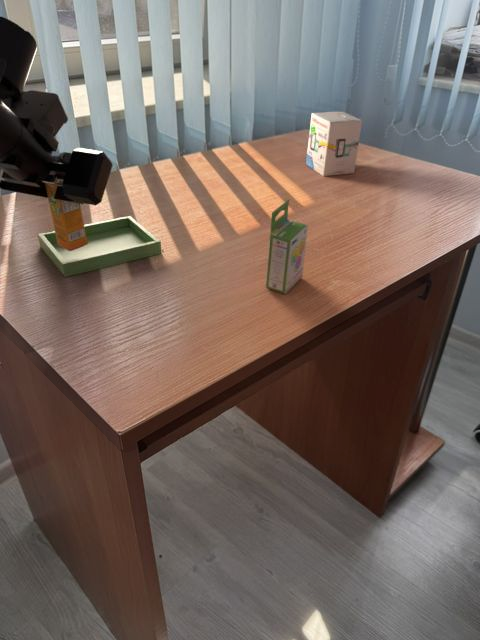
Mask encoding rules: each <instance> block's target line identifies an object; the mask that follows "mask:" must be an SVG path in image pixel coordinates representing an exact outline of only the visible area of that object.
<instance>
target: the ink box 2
mask: <svg viewBox="0 0 480 640" xmlns="http://www.w3.org/2000/svg"><path fill="white" fill-rule="evenodd" d="M362 125H363V120H362V119H360V118H358V117H356V116H354V115H352V114H349V113H347V112H345V111H342V110H341V111H326V112H311V115H310V126H309V134H308V141H307V142H308V143H307V151H306V161H305V165H306V166H308V167H309V168H311V169H312V170H313V171H314V172H316V173H318V174H319V175H321V176H322V177H328V176H339V175H347V174H348V175H349V174H354V173H355V168H356V163H357V156H358V151H359V143H360V137H361V133H362V132H361V131H362Z"/></svg>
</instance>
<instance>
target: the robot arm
mask: <svg viewBox="0 0 480 640" xmlns="http://www.w3.org/2000/svg"><path fill="white" fill-rule="evenodd" d="M37 50H38V43H37V41H36V39H35V37H34V36H33V34H31V33H30V31H28V30H25V29H24V28H23V27H21V26H20V25H19V24H17V23H16V22H14V21H12V20H10V19H9V18H6V17H4V16H1V15H0V190H3V191H8V192H13V193H19V194H25V195H31V196H36V197H40V198H46V199H48V195H47V191H46V186H45V182H46V183H51V184H56V183H57V185H58V186H57V189H56V192H55V195H54V199H57V200H62V201H68V202H73V203H78V204H80V205H84V204H85V205H91V206H97V205H99V204H101V203H102V201H103V198H104V195H105V191H106V188H107V185H108V182H109V179H110V176H111V173H112V168H113V165H114V164H113V162H112V161H111V159H110V158H109V156H108V155H107V154H106V153H105V151H103V150H102V151H101V150H96V149H89V148H83V147H77V148H75V149H73V150H72V151H71V152H67V151H63V152H61V153H59V154H58V155H53V152H57V150H58V147H59V144H60V142H59V141H58V140H57V139H56V138H55V137H56V136H57V134H58V133H59V131H60V130H61V129H62V128H63V126H64V124H65V125H66V124H67V122H68V121H69V117H68V114H67V112H66V110H65V108H64V106H63V104H62V101H61V98H60V97H59V95H58V94H57V93H55V92H50V91H49V92H47V91H42V90H41V91H40V90H33V89H31V90H27V91H25V90H24V89H25V86H26V83H27V80H28V77H29V74H30V71H31V68H32V65H33V62H34V59H35V56H36V53H37ZM57 181H58V182H57Z"/></svg>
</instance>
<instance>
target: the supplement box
mask: <svg viewBox="0 0 480 640" xmlns="http://www.w3.org/2000/svg"><path fill="white" fill-rule="evenodd" d="M57 182H58V181H57ZM45 186H46V191H47V195H48V198H47V200H48V201H47V202H48V205H49V209H50V210H49V211H50V214H51V219H52V224H53V228H54V231H55V233H56V238H57V243H58V245H59V246H61V247H63V248H65V249H67V250H69V251H72V250H75V249H78V248H80V247H83V246H85V245H87V238H86V233H85V227H84V225H85V223H84V217H83V212H82V207H81V204H78V203H73V202H68V201H62V200H57V199H54V195H55V192H56V189H57V186H58V185H57V183H56V184H51V183H46V182H45Z"/></svg>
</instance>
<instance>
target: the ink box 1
mask: <svg viewBox="0 0 480 640" xmlns="http://www.w3.org/2000/svg"><path fill="white" fill-rule="evenodd" d="M289 205H290V199H287V200H286V201H285V202H284V203H282V204H281V205H280V206H278V207H277V208H276V209H274V210H273V211H272V212H271V219H270V233H269V238H268V239H269V242H268V243H269V246H268V255H267V268H266V278H265V279H266V280H265V288H266V289H269V290H272V291H274V292H278V293H280V294H283V295H286V294H288V292H289V291H291V289H292V288H293V287H295V285H296V284H297V283H298V282H299V281H300V280H301V279H302V278H303V273H304V265H305V255H306V247H307V238H308V231H309V230H308V229H309V226H308V224H306V223H302V222H298V221H294V220H291V219H288V217H289V216H288V215H289ZM282 211H284V212H283V214H282V215H281V216H280V217H278V215H279V214H280V213H281V212H282ZM277 217H278V218H277ZM276 218H277V219H276Z"/></svg>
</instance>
